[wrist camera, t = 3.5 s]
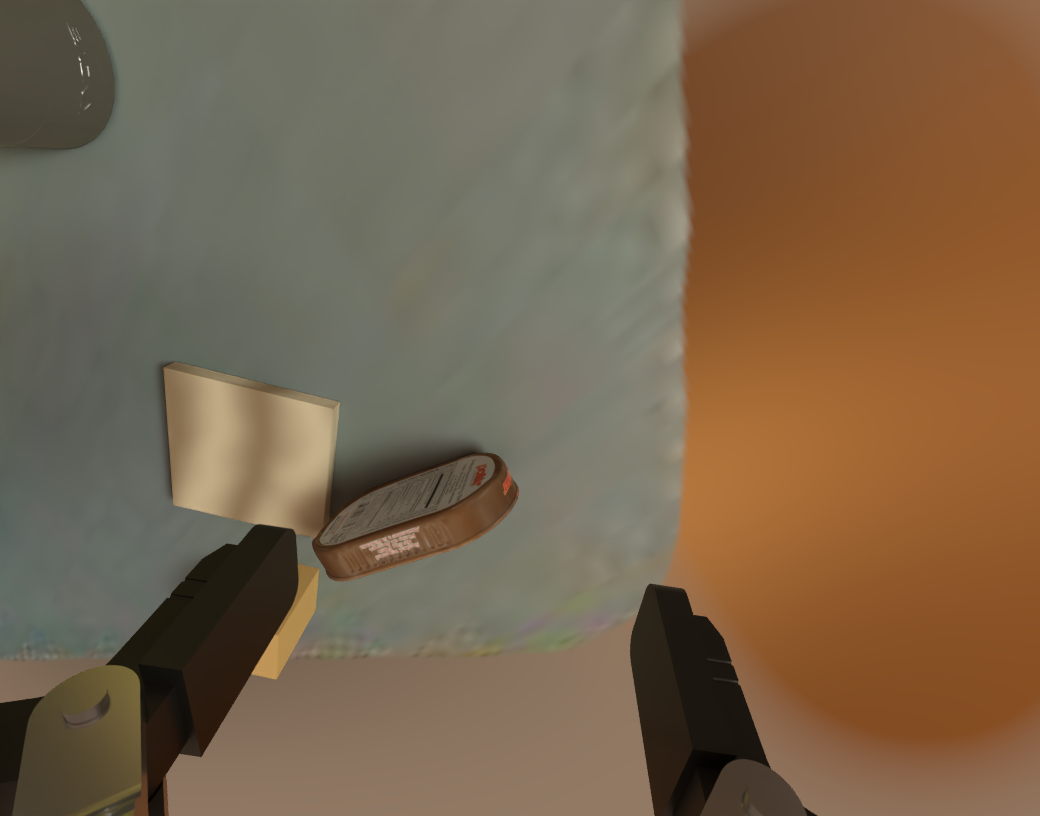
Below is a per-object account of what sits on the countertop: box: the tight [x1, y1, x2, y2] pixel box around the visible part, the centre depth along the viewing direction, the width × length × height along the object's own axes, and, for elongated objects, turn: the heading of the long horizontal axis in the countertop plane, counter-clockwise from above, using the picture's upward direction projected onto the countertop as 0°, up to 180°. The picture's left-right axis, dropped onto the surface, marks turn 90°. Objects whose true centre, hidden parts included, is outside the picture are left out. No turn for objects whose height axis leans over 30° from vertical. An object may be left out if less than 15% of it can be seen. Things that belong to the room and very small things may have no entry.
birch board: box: [164, 362, 340, 538], centre depth 39 cm, size 12×12×1 cm
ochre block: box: [252, 564, 319, 679], centre depth 42 cm, size 5×5×7 cm
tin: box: [312, 453, 519, 581], centre depth 35 cm, size 15×3×8 cm, turn 113°
